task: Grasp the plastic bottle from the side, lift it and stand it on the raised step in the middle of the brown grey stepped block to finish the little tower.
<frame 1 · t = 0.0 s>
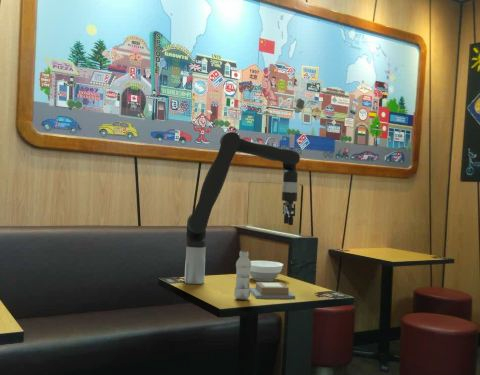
hand: (288, 224, 251), 29 cm above the table, tool pointing down, fingers open, 8 cm apart
bowl: (263, 280, 259), on the table
plastic bottle: (241, 299, 212), on the table
brown grey stepped block: (271, 294, 224), on the table
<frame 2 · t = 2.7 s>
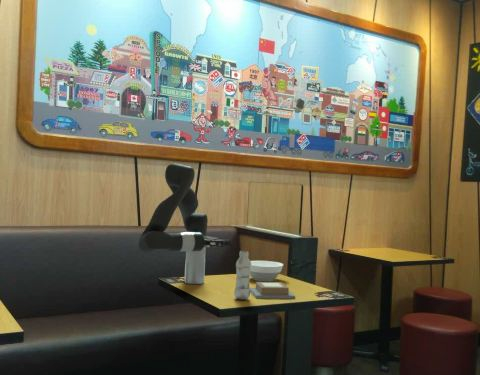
hand: (225, 241, 208), 24 cm above the table, tool horizontal, fingers open, 8 cm apart
nothing on the table moved.
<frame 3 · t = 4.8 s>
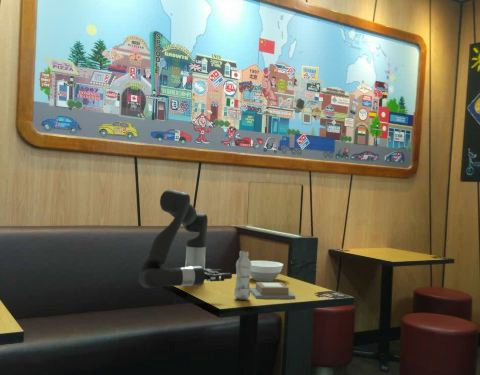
hand: (226, 273, 208), 11 cm above the table, tool horizontal, fingers open, 8 cm apart
nothing on the table moved.
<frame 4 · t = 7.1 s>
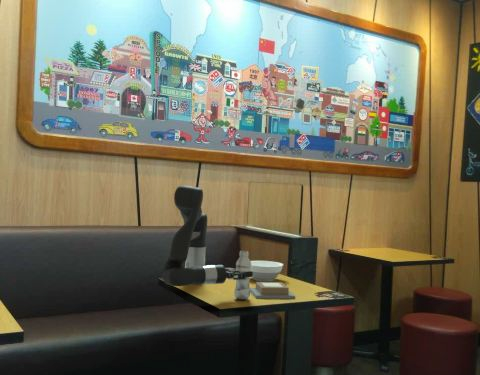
hand: (247, 272, 213), 11 cm above the table, tool horizontal, fingers closed on plastic bottle, 6 cm apart
plastic bottle: (241, 299, 212), on the table, touching gripper
everything else where it was.
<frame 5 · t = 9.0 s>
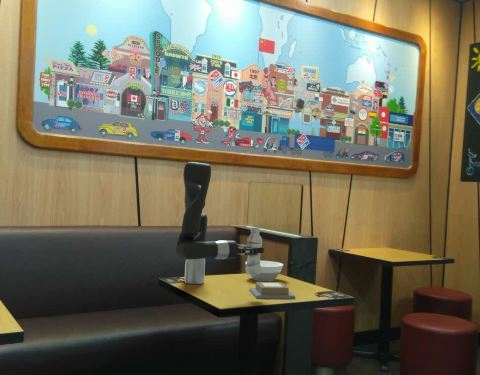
hand: (259, 249, 217), 21 cm above the table, tool horizontal, fingers closed on plastic bottle, 6 cm apart
plastic bottle: (252, 275, 216), point 9 cm above the table, touching gripper
everything else where it was.
when the fingers open (16 cm above the table, at t = 11.2 s): plastic bottle stays where it is, resting on brown grey stepped block.
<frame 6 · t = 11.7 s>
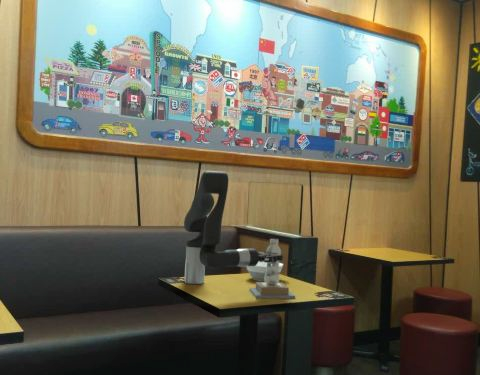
hand: (276, 256, 225), 17 cm above the table, tool horizontal, fingers open, 8 cm apart
plastic bottle: (271, 284, 224), point 4 cm above the table, touching brown grey stepped block
everything else where it was.
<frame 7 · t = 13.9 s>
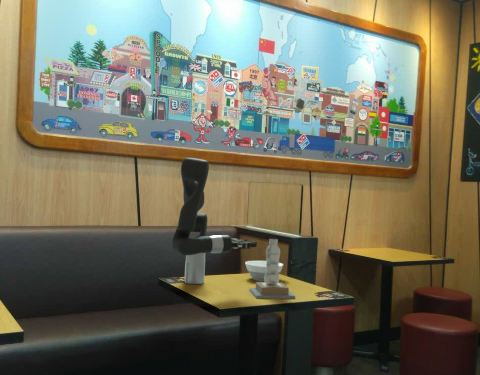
hand: (251, 243, 225), 22 cm above the table, tool horizontal, fingers open, 8 cm apart
nothing on the table moved.
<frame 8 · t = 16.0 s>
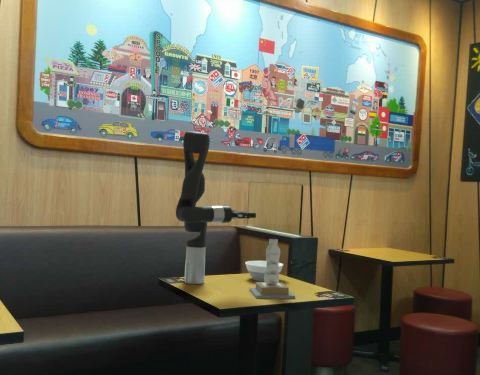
hand: (250, 214, 236), 34 cm above the table, tool horizontal, fingers open, 8 cm apart
nothing on the table moved.
at the end: plastic bottle inside the target area on the brown grey stepped block (0.2 cm from its centre), point 4.1 cm above the brown grey stepped block's base; plastic bottle tilted 0°; the gripper is holding nothing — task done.
